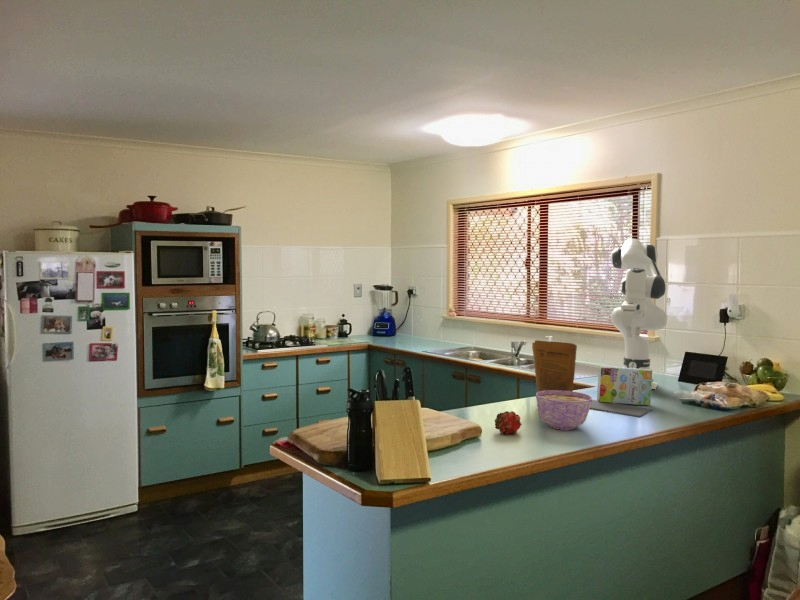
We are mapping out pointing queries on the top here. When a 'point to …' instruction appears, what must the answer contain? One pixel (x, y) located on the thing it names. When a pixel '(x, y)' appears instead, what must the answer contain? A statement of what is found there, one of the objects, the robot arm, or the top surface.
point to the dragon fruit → (508, 422)
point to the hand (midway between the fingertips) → (633, 337)
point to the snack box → (624, 385)
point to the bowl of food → (563, 408)
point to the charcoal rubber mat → (619, 408)
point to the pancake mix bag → (554, 365)
